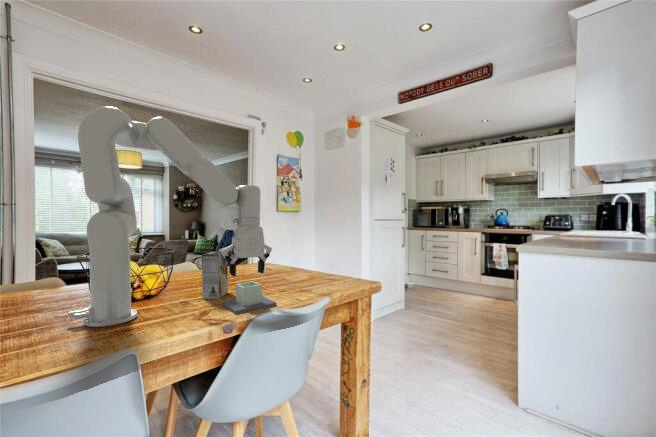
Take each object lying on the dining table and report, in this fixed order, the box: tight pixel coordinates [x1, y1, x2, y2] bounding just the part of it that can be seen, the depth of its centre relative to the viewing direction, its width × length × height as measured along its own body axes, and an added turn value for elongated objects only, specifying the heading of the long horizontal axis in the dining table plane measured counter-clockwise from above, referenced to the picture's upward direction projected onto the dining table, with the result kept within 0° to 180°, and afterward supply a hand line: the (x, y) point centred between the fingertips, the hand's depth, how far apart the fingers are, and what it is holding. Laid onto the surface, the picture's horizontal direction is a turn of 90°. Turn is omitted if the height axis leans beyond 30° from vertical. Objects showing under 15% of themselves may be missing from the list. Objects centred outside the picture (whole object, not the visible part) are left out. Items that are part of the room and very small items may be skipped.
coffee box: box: [201, 250, 229, 300], centre depth 113 cm, size 9×6×16 cm
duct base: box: [221, 295, 277, 315], centre depth 101 cm, size 14×12×6 cm
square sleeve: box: [235, 281, 263, 306], centre depth 101 cm, size 6×6×6 cm
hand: (247, 274), depth 101 cm, fingers open, 9 cm apart
